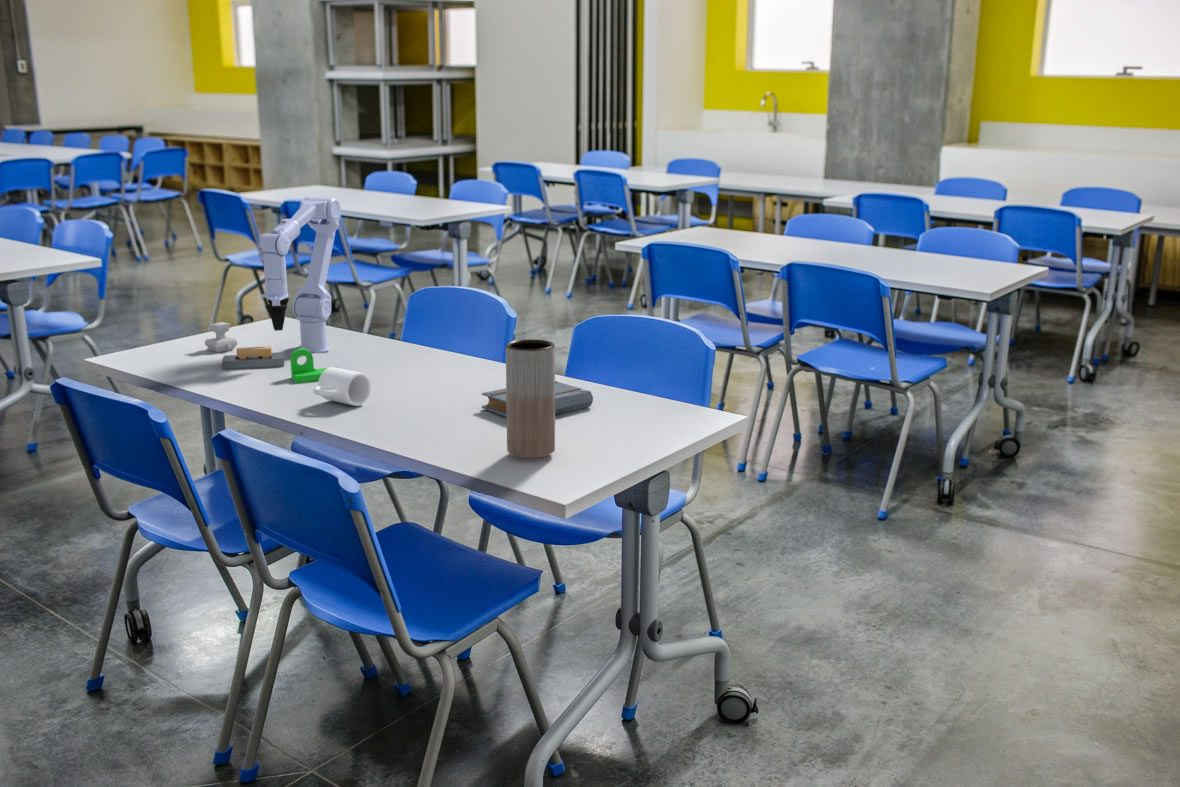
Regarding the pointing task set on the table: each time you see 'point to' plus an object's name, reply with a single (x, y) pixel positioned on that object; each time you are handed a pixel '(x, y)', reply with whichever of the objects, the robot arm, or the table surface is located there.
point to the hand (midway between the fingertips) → (279, 327)
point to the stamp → (220, 338)
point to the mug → (343, 386)
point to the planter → (530, 398)
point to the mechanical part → (304, 367)
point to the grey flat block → (253, 362)
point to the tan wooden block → (254, 352)
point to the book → (564, 399)
